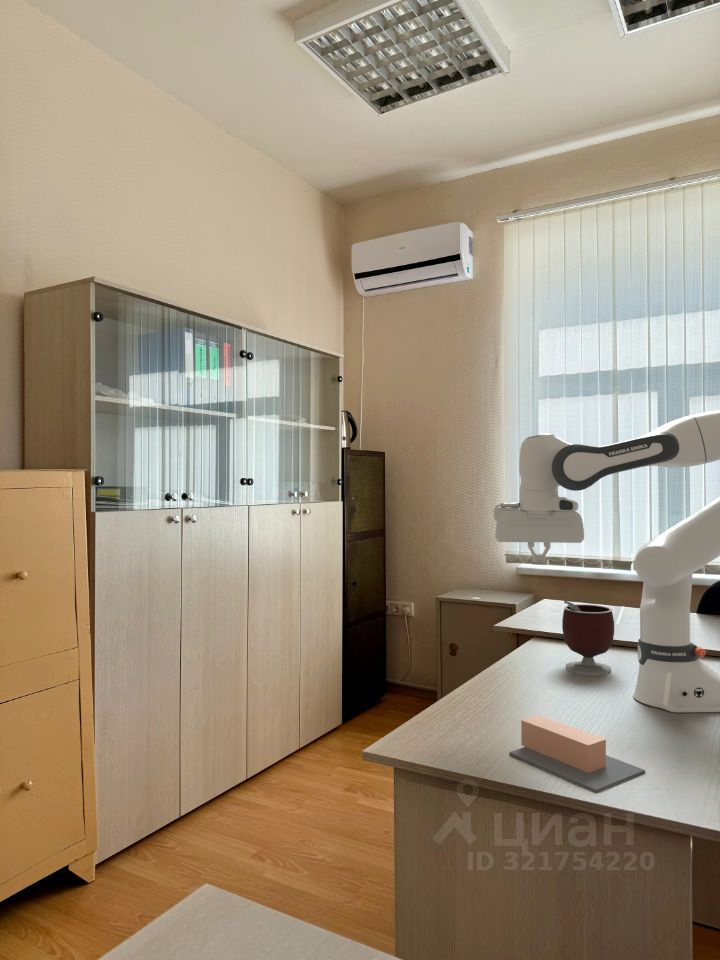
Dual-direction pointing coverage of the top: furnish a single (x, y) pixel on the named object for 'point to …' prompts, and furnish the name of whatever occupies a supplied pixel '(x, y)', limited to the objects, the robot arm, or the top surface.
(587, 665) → the mate gourd
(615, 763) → the charcoal mat
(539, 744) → the terracotta block
